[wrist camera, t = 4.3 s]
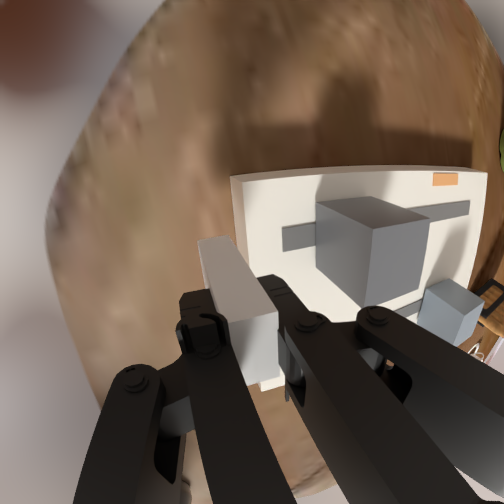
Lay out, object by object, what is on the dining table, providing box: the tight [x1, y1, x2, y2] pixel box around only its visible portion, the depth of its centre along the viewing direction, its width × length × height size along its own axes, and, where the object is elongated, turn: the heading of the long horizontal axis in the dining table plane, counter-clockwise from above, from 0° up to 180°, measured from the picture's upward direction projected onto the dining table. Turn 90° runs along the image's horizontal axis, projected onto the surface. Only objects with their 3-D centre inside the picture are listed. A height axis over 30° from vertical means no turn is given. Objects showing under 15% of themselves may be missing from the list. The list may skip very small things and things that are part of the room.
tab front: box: [316, 196, 431, 309], centre depth 14 cm, size 4×4×5 cm
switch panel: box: [230, 165, 487, 392], centre depth 21 cm, size 26×16×3 cm, turn 95°
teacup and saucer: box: [468, 343, 484, 362], centre depth 42 cm, size 9×8×4 cm
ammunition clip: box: [474, 279, 504, 338], centre depth 28 cm, size 11×2×12 cm, turn 100°
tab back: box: [417, 278, 485, 347], centre depth 20 cm, size 4×4×5 cm
